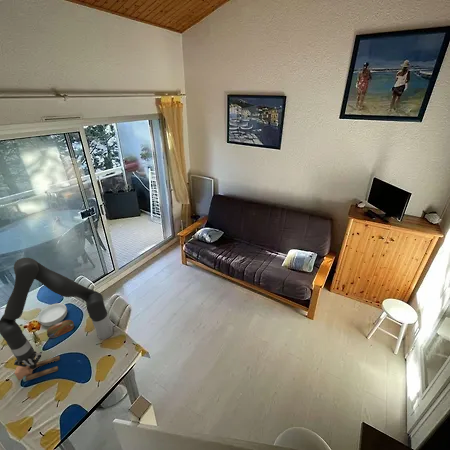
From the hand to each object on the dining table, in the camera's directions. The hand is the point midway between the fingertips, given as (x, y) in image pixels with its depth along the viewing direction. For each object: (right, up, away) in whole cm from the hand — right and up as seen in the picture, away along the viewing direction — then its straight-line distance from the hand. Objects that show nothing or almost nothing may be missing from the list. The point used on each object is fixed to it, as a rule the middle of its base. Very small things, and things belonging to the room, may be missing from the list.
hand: (34, 367), depth 138 cm
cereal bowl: (-11, +14, +33) cm, 37 cm away
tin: (0, +9, +24) cm, 25 cm away
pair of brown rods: (+3, -3, +3) cm, 5 cm away
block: (-5, -4, 0) cm, 6 cm away
